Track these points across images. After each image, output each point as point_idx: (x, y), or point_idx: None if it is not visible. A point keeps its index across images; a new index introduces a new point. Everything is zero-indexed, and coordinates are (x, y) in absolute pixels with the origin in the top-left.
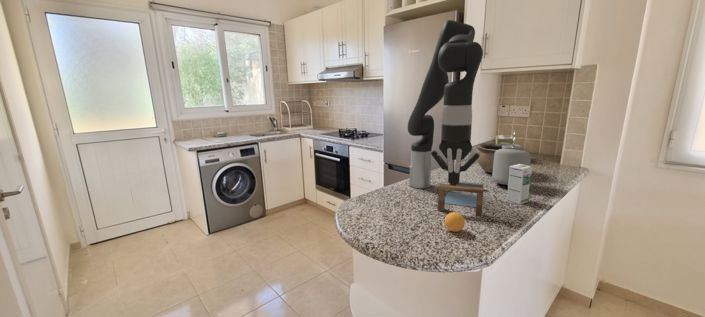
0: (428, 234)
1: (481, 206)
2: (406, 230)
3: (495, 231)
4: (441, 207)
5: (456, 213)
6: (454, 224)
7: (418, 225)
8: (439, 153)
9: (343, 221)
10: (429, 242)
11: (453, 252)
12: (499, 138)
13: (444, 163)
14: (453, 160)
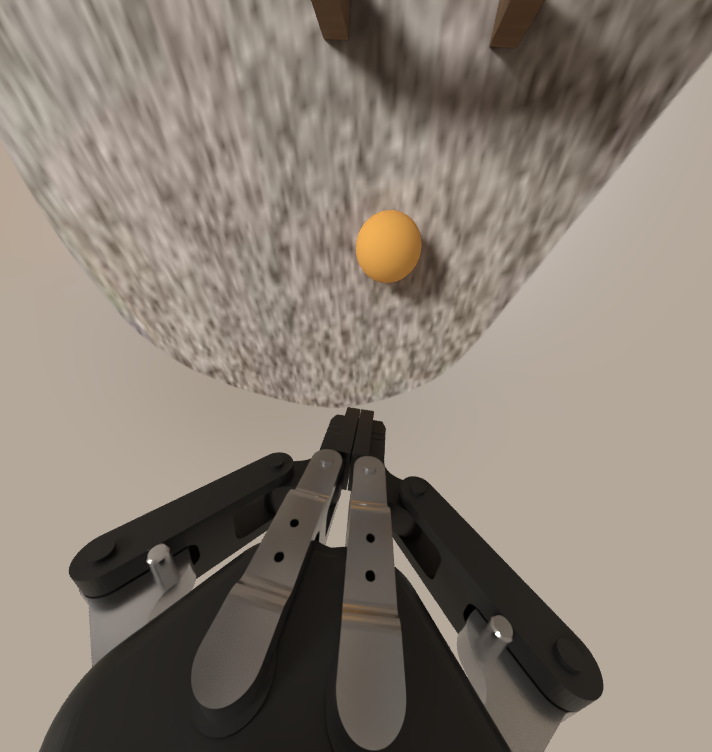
0: (320, 295)
1: (538, 3)
2: (262, 287)
3: (523, 210)
4: (335, 24)
5: (392, 249)
6: (386, 282)
7: (283, 241)
8: (172, 598)
9: (96, 280)
10: (329, 338)
11: (383, 368)
12: None
13: (264, 488)
14: (321, 522)
